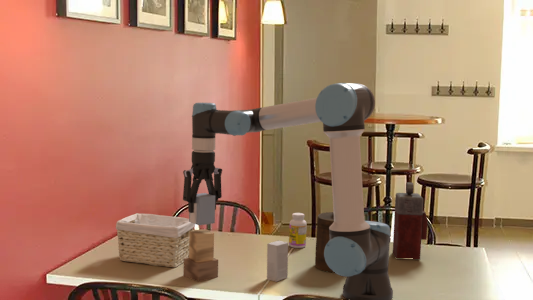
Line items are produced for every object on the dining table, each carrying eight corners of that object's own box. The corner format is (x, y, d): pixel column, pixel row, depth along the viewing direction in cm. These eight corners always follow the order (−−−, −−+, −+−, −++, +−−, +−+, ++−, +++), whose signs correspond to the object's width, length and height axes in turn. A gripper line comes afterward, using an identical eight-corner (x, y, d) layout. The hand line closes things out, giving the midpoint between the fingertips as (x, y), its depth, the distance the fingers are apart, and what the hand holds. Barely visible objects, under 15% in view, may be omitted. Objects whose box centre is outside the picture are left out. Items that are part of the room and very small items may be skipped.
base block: (217, 277, 221) (218, 259, 220) (198, 282, 215) (198, 263, 215) (202, 271, 227) (202, 254, 226) (183, 276, 221) (183, 258, 220)
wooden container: (343, 276, 226) (346, 211, 223) (306, 267, 235) (309, 205, 232) (365, 266, 237) (368, 205, 235) (329, 258, 246) (331, 199, 244)
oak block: (213, 260, 219) (214, 233, 218) (196, 262, 216) (197, 235, 215) (205, 255, 224) (206, 229, 223) (189, 257, 221) (189, 230, 220)
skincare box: (277, 275, 224) (278, 240, 223) (287, 278, 222) (288, 242, 220) (266, 279, 220) (266, 243, 218) (276, 282, 217) (277, 245, 216)
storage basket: (196, 258, 243) (196, 217, 241) (177, 270, 227) (177, 227, 226) (136, 251, 250) (136, 212, 248) (113, 262, 234) (114, 220, 232)
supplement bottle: (285, 244, 265) (286, 212, 263) (300, 243, 267) (301, 211, 266) (293, 249, 258) (294, 216, 257) (308, 247, 261) (310, 215, 260)
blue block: (214, 223, 219) (215, 195, 218) (199, 225, 215) (199, 197, 214) (204, 219, 224) (205, 193, 223) (189, 221, 220) (189, 194, 219)
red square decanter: (426, 260, 248) (430, 185, 245) (395, 259, 248) (399, 184, 245) (422, 253, 257) (426, 181, 253) (392, 252, 257) (396, 180, 254)
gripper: (221, 148, 226) (219, 216, 228) (171, 150, 214) (170, 222, 216) (234, 150, 220) (232, 220, 222) (184, 153, 208) (182, 227, 211)
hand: (202, 221), depth 219 cm, fingers closed on blue block, 6 cm apart
